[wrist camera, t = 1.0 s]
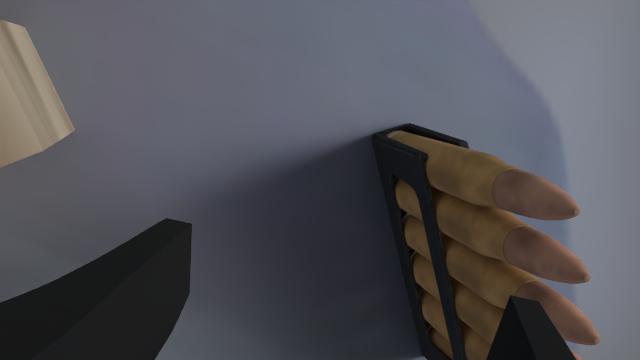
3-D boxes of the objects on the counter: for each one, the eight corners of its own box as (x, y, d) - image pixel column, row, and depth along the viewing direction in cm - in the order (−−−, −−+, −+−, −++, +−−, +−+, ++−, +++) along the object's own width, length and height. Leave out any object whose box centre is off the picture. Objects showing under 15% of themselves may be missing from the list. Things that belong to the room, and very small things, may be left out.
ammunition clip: (370, 134, 25) (536, 186, 14) (410, 122, 26) (605, 162, 14) (422, 356, 28) (600, 556, 16) (458, 342, 28) (657, 528, 17)
